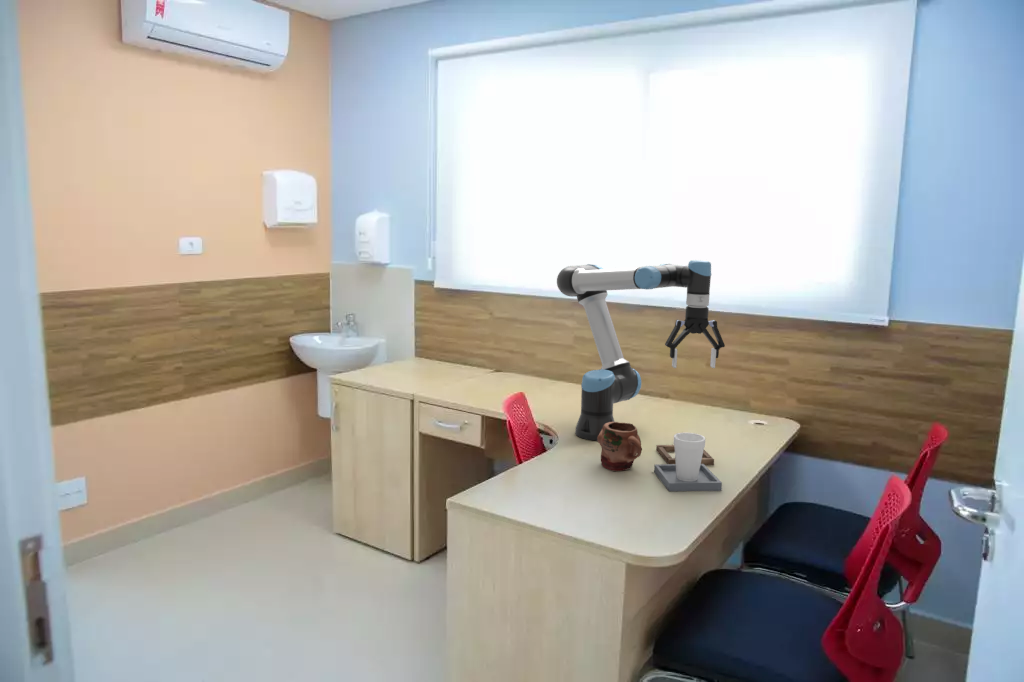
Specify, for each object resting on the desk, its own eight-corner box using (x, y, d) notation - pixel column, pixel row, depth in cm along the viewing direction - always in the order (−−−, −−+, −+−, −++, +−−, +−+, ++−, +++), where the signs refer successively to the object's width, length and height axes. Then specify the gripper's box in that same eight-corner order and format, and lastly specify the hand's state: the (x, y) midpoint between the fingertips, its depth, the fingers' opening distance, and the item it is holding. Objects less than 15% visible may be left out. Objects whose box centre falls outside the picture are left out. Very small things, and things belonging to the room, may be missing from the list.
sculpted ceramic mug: (656, 474, 228) (658, 431, 225) (627, 481, 221) (629, 437, 219) (613, 455, 244) (615, 415, 242) (585, 462, 237) (587, 421, 235)
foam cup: (703, 484, 217) (706, 443, 215) (671, 481, 219) (674, 440, 216) (701, 473, 226) (704, 433, 224) (671, 471, 228) (673, 431, 225)
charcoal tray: (668, 491, 214) (669, 483, 213) (654, 471, 230) (654, 464, 229) (721, 490, 215) (721, 482, 215) (703, 471, 231) (703, 463, 230)
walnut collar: (668, 465, 236) (669, 459, 235) (656, 450, 250) (656, 445, 250) (713, 465, 237) (714, 459, 236) (698, 450, 251) (698, 444, 251)
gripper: (664, 307, 241) (661, 369, 245) (737, 307, 243) (732, 369, 247) (658, 304, 248) (655, 364, 252) (728, 305, 250) (724, 364, 254)
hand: (693, 367), depth 250 cm, fingers open, 13 cm apart
